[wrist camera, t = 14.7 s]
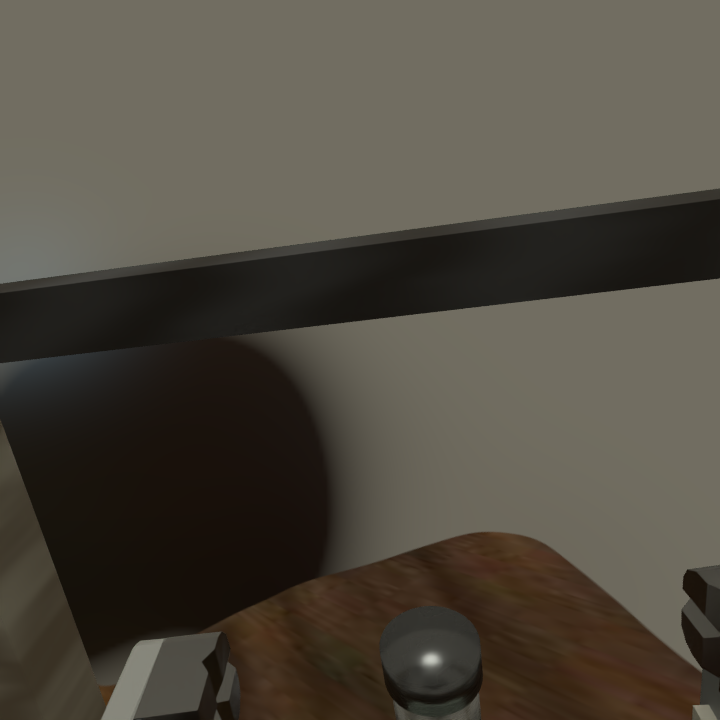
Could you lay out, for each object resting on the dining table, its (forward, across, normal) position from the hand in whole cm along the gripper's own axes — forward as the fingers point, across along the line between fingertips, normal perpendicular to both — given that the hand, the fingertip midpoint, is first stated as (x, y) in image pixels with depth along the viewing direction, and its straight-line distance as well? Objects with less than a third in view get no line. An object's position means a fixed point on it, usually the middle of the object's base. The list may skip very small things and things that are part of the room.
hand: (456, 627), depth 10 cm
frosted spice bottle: (+15, 0, +30) cm, 33 cm away
